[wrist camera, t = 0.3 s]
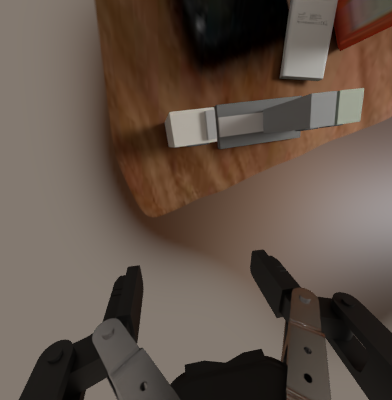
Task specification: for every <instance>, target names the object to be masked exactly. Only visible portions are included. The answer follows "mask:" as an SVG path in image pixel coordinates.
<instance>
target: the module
mask: <svg viewBox="0 0 392 400" xmlns="http://www.w3.org/2000/svg"><path fill="white" fill-rule="evenodd" d="M165 128H166V134H167V140H168V146H169V147H181V146H186V147H191V146H198V145H205V144H209V143H210V142H217V130H216V119H215V110H214V107H211V108H202V109H193V110H184V111H175V112H169V114H168V116H167V118H166V121H165Z"/></svg>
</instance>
